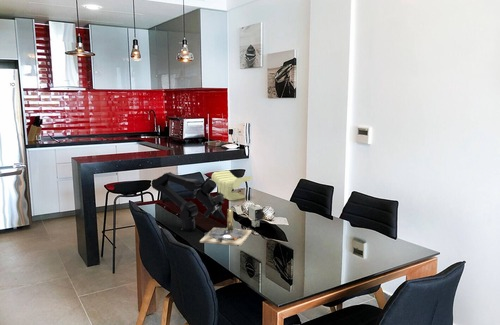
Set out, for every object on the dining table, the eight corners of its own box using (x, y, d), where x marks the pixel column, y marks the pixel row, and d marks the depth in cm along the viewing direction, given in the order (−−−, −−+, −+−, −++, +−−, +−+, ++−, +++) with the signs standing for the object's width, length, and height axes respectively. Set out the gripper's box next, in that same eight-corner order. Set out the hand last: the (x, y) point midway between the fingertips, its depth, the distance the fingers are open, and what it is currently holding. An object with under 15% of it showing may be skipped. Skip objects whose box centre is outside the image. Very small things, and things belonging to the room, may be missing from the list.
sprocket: (204, 239, 206) (203, 216, 204) (215, 228, 224) (215, 207, 222) (239, 242, 202) (238, 219, 200) (247, 230, 220) (247, 209, 218)
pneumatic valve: (256, 229, 225) (256, 208, 223) (247, 223, 235) (247, 204, 234) (265, 228, 228) (265, 207, 226) (255, 222, 238) (255, 202, 236)
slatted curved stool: (211, 195, 307) (211, 172, 304) (229, 192, 316) (229, 170, 313) (233, 203, 283) (233, 178, 280) (252, 200, 292) (251, 175, 289)
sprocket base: (199, 242, 205) (199, 236, 205) (213, 229, 226) (213, 224, 226) (241, 245, 200) (241, 240, 199) (251, 231, 221) (251, 226, 221)
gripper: (209, 192, 208) (229, 214, 207) (220, 185, 225) (239, 205, 224) (195, 206, 211) (215, 228, 210) (207, 198, 229) (226, 218, 228)
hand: (224, 219), depth 218 cm, fingers closed
